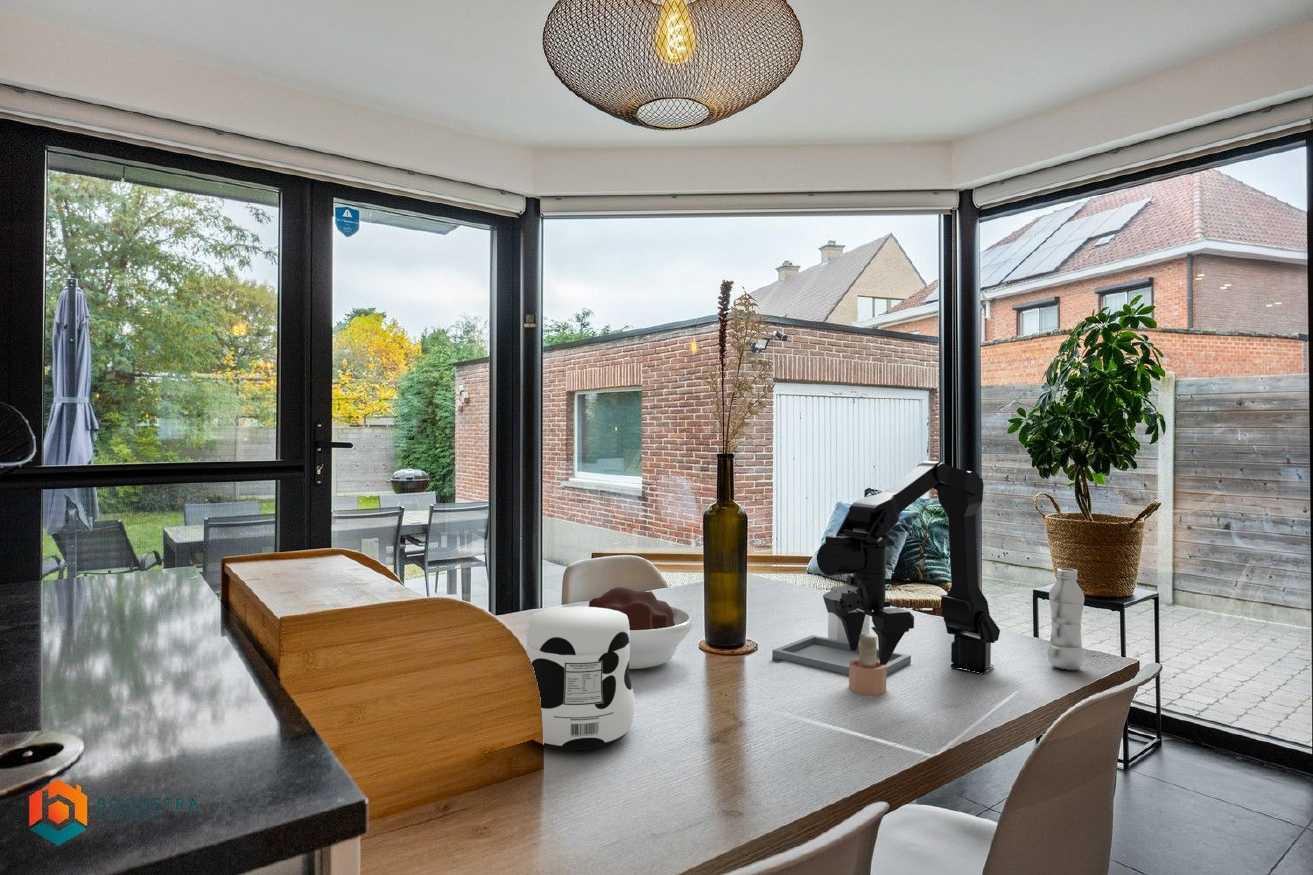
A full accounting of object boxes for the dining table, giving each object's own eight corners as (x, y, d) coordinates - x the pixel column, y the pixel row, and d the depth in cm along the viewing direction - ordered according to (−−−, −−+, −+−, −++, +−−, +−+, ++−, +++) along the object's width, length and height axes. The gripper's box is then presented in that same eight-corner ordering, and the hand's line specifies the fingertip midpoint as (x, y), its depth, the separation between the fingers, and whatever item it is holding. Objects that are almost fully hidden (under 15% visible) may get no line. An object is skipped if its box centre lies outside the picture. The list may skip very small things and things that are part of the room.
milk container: (577, 707, 129) (579, 600, 129) (657, 734, 118) (659, 617, 118) (494, 738, 116) (496, 618, 115) (576, 771, 105) (578, 639, 104)
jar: (853, 650, 166) (854, 594, 166) (821, 642, 172) (822, 588, 172) (875, 642, 172) (876, 589, 172) (843, 635, 178) (844, 583, 178)
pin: (878, 688, 139) (879, 636, 139) (871, 692, 137) (872, 639, 137) (863, 684, 141) (864, 633, 141) (855, 688, 139) (856, 636, 139)
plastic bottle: (1047, 670, 154) (1048, 570, 154) (1047, 661, 160) (1049, 565, 160) (1084, 675, 151) (1085, 573, 151) (1083, 666, 157) (1085, 568, 157)
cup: (891, 691, 140) (892, 663, 140) (876, 699, 135) (876, 671, 135) (858, 683, 144) (859, 656, 144) (842, 691, 139) (843, 663, 139)
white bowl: (658, 641, 171) (659, 573, 171) (714, 673, 149) (715, 595, 149) (550, 652, 161) (551, 580, 161) (592, 689, 138) (593, 605, 138)
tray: (910, 665, 156) (910, 655, 156) (874, 684, 143) (875, 673, 143) (812, 644, 171) (812, 635, 171) (772, 659, 158) (772, 649, 158)
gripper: (803, 564, 145) (802, 647, 146) (860, 583, 128) (859, 677, 128) (854, 562, 149) (853, 642, 149) (916, 579, 131) (915, 671, 132)
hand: (867, 657), depth 139 cm, fingers open, 9 cm apart
